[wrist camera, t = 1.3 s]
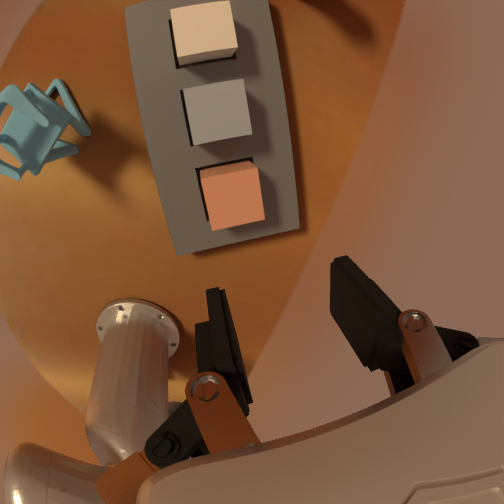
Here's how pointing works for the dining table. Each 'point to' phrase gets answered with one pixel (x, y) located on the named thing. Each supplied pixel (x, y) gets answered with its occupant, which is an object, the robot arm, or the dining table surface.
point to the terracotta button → (232, 194)
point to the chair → (38, 127)
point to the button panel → (222, 151)
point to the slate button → (217, 111)
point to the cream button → (204, 32)
